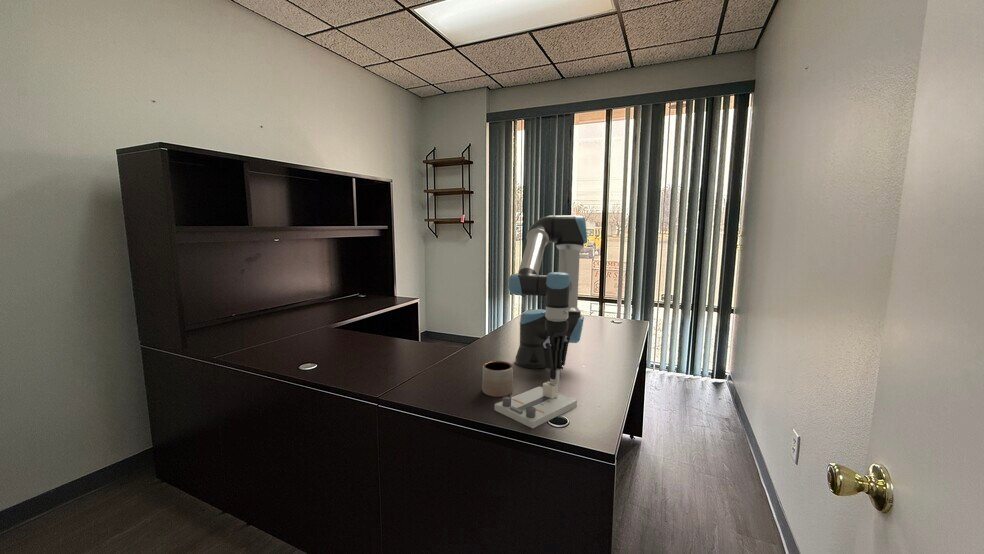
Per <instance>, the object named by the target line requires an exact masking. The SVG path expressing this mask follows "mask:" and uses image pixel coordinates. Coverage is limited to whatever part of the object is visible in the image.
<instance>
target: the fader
mask: <svg viewBox="0 0 984 554" xmlns="http://www.w3.org/2000/svg"><path fill="white" fill-rule="evenodd" d="M542 388H543V396H546V397H549V398H551V399H553V398H555V397H557V396H558V394H559V393H558V391H559V388H558V385H557V384H554V383H551V382H550V381H545V382H543V383H542Z"/></svg>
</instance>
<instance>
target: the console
mask: <svg viewBox="0 0 984 554" xmlns="http://www.w3.org/2000/svg"><path fill="white" fill-rule="evenodd" d="M577 404H578V400H577V399H574V398H573V397H572V398H571V397H570V396H565V395H563V394H561V393H558V396H557V397H555V398H553V399H551V398H549V397H546V396H543V386H537V387H534V388H532V389H531V388H530V389H529V390H526V391H524V392H522V393H519V394H517V395H514V396H509V395H507V396H504V397H502V401H499V402H496V403H494V412H495V411H496V412H497V413H500V414H502V415H503V416H506V417H508V418H511V419H512V420H514V421H516V422H517V423H520V424H522V425H524V426H526V427H529V428H530V429H535V428H537V427H539V426H541V425H542V424H545V423H546V422H547V423H548V421H551V420H553V419H554V418H557V417H559V416H561V415H563V414H565V413H566V412H568V411H571V410H573V409H575V408H576V407H578V405H577Z"/></svg>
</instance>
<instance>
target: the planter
mask: <svg viewBox="0 0 984 554" xmlns="http://www.w3.org/2000/svg"><path fill="white" fill-rule="evenodd" d="M513 376H514V366H513V364H512V363H510V362H508V361H502V360H491V361H488V362H484V364H482V385H481V389H482V393H483V394H485V395H487V396H488V397H492V398H503V397H505V396H509V395H511V394H512V393H513V391H514V390H513V389H514V377H513Z"/></svg>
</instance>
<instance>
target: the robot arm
mask: <svg viewBox="0 0 984 554" xmlns="http://www.w3.org/2000/svg"><path fill="white" fill-rule="evenodd" d="M587 233H588V232H587V224H586V218H585V217H584V216H583V215H575V214H572V215H571V214H570V215H566V214H565V215H552V214H551V215H546V216H543V217H541V218H539V219H538V220H536V221H535V222H534V223H533V224H531V226H530V227H529V229H528V231H527V233H526V237H525V239H526V245H525V248H524V251H523V255H522V259H521V261H520V265H519V268H518V272H517V273H512V274H510V275H509V279H508V291H509V293H510V294H511V295H517V296H539V297H545V301H546V302H545V309H542V308H541V309H540V308H538V309H531V310H525V311H523V312H522V313H520V319H519V346H518V348H517V349H518V350H517V353H516V355H515V359H514V360H515V364H516V366H519V367H521V368H524V369H525V368H526V369H537V370H538V369H545V368H546V369H548V370H549V378H550V381H549V382H551V383H554V384H557V385H558V389H560V383H561V381H560V379H561V370H563V369H564V366H565V365H566V359H567V354H568V353H567V352H568V348H569V344H577V343H579V342H580V340H581V337H582V332H583V326H584V320H585V316H583V315H581V311H582V310H580V309H579V307H578V302H579V301H578V299H579V297H578V296H579V277H580V257H581V256H580V253H581V250H583V249H584V245H585V244H587V243H588V235H587ZM549 243H556V244H555V246H556V248H557V249H558V251H559V252H558V254H559V255H558V270H557V271H555V272H554V271H552V272H548V273H547V274H546V275H545V274H539V273H540V269H541V265H542V262H543V256H544V252H545V249H546V246H547V245H548V244H549Z"/></svg>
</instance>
